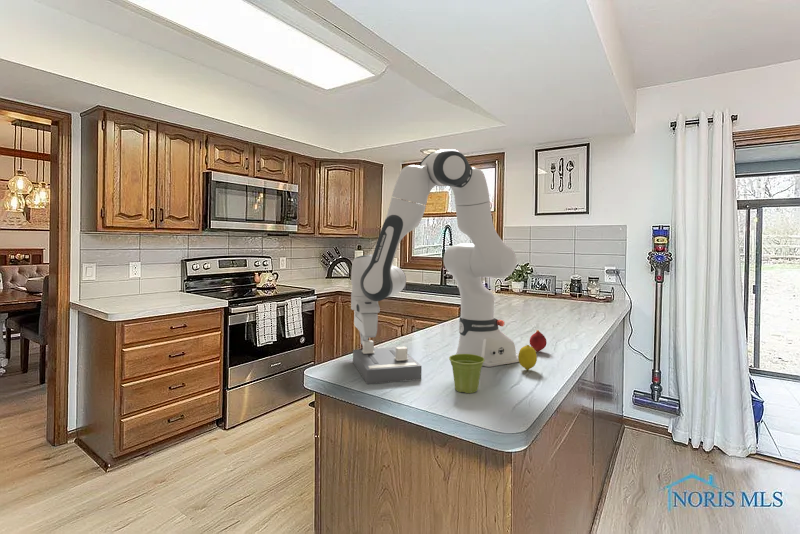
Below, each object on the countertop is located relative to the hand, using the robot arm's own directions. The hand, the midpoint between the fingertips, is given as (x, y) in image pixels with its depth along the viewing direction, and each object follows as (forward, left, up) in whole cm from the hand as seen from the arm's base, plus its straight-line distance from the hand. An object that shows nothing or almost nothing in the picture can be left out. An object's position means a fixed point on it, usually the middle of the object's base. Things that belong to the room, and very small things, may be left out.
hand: (364, 345), depth 143 cm
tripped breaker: (0, +6, -1) cm, 6 cm away
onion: (-63, +5, -5) cm, 63 cm away
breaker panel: (-4, +12, -5) cm, 14 cm away
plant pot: (-21, +34, -5) cm, 41 cm away
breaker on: (-8, +16, -1) cm, 18 cm away
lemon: (-47, +23, -5) cm, 53 cm away
